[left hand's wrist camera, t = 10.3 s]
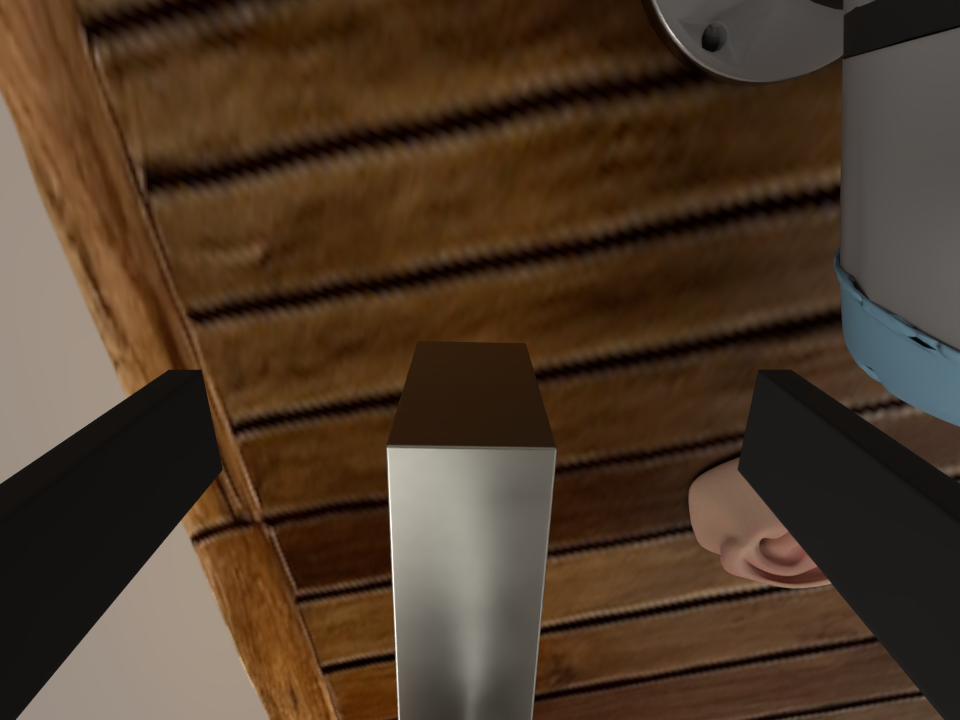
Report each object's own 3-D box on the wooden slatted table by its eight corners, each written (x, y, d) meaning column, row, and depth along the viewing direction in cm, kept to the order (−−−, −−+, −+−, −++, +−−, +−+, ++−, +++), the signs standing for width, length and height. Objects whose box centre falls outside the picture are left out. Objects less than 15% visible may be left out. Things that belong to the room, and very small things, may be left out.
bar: (417, 340, 22) (385, 445, 14) (526, 342, 22) (557, 448, 14) (424, 730, 31) (407, 934, 22) (502, 730, 31) (513, 934, 23)
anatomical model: (680, 533, 38) (822, 441, 35) (661, 499, 41) (789, 414, 39) (769, 633, 41) (904, 557, 39) (745, 594, 45) (866, 523, 43)
